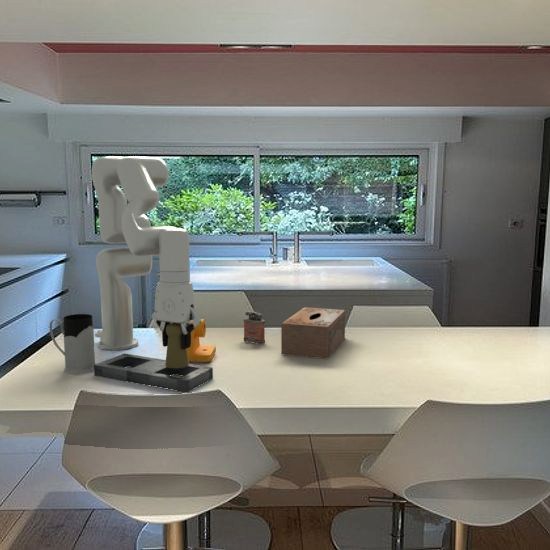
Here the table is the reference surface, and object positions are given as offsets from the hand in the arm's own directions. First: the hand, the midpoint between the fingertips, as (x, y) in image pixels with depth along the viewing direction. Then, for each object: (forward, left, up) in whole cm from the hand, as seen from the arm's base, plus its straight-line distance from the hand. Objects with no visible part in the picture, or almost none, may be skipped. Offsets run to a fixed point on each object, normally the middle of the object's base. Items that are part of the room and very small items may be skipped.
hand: (176, 346), depth 142 cm
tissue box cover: (+19, +48, -10) cm, 53 cm away
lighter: (-1, +44, -10) cm, 45 cm away
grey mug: (-33, -4, -10) cm, 35 cm away
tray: (-8, 0, -10) cm, 12 cm away
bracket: (-6, +20, -10) cm, 23 cm away
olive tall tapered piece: (0, 0, -5) cm, 5 cm away
